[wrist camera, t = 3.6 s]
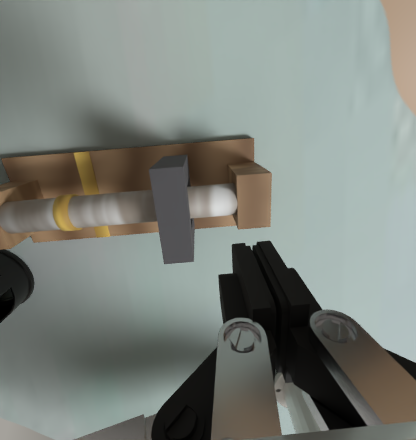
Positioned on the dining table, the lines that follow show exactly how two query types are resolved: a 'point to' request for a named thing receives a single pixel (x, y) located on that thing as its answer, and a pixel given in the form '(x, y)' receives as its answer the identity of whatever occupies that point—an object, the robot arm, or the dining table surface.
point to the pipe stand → (128, 191)
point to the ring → (173, 208)
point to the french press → (14, 282)
